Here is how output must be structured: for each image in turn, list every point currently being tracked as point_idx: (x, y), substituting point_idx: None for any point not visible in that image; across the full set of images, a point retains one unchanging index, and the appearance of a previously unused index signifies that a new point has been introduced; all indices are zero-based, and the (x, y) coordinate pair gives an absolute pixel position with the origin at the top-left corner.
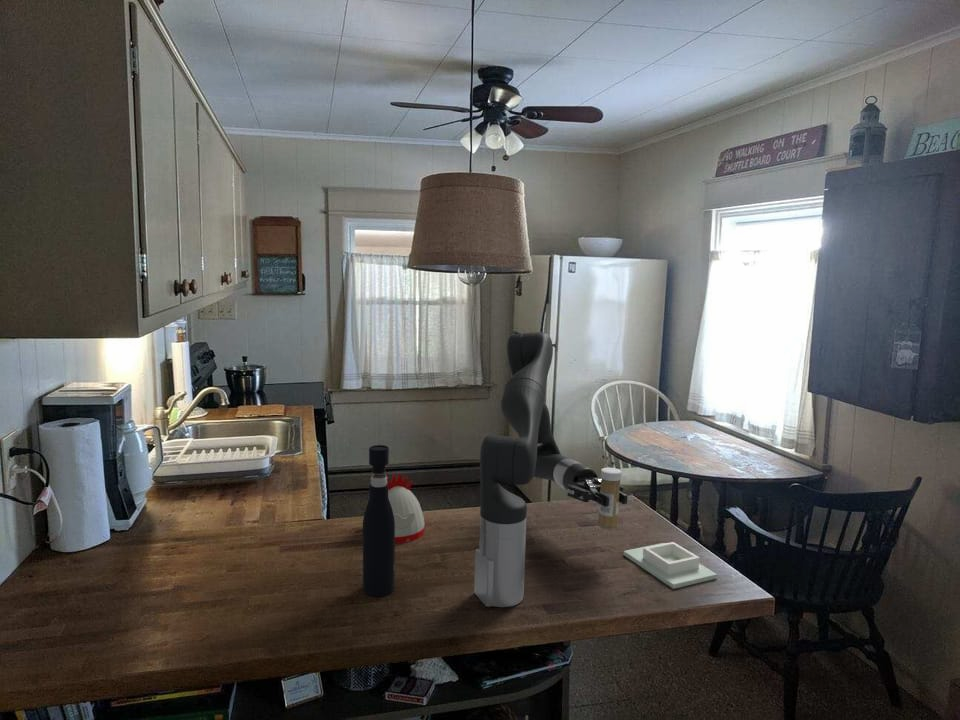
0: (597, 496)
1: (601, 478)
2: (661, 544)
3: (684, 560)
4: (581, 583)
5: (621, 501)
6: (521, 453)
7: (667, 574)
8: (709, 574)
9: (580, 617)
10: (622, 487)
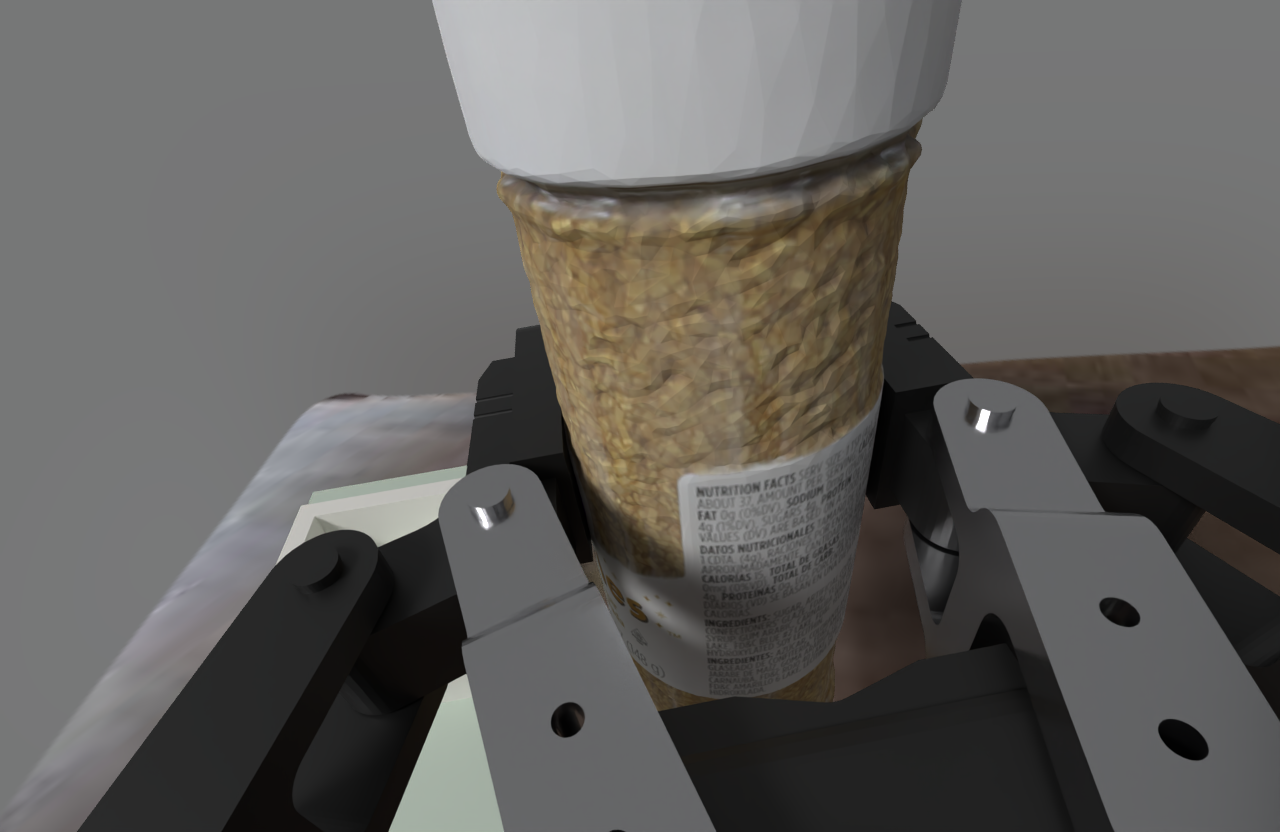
0: (943, 351)
1: (909, 136)
2: None
3: (398, 489)
4: None
5: None
6: None
7: None
8: (343, 493)
9: (983, 368)
10: (333, 533)
